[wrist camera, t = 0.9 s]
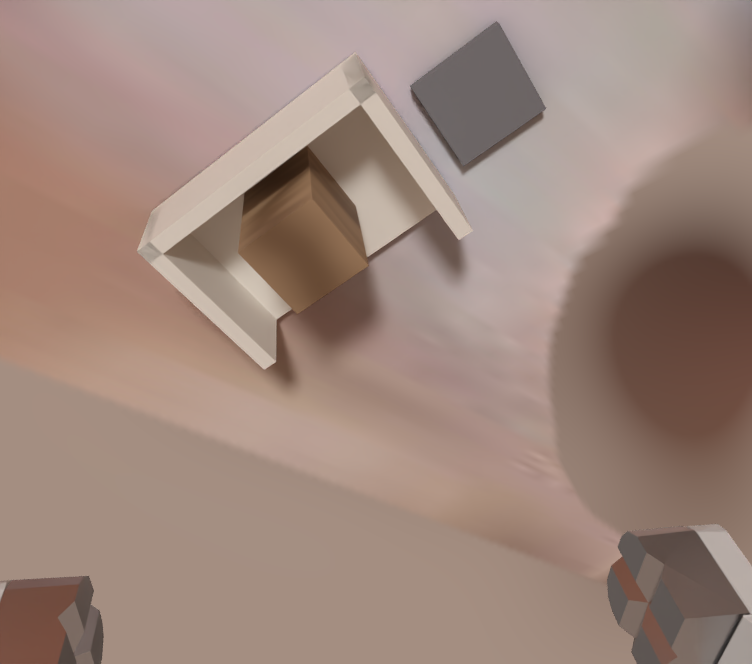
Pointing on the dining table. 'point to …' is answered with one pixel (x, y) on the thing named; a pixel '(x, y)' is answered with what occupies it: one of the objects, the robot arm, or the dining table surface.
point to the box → (263, 156)
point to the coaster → (479, 94)
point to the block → (301, 231)
